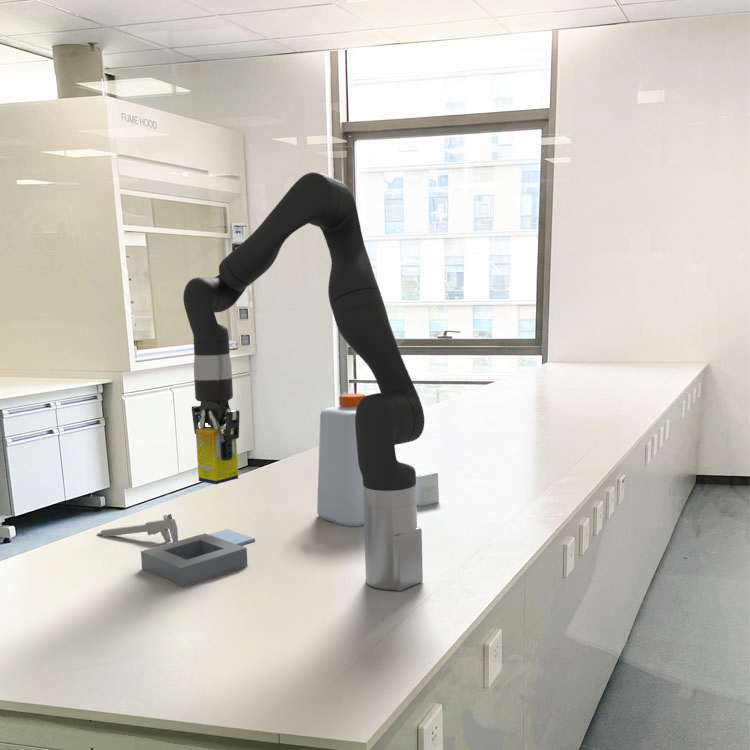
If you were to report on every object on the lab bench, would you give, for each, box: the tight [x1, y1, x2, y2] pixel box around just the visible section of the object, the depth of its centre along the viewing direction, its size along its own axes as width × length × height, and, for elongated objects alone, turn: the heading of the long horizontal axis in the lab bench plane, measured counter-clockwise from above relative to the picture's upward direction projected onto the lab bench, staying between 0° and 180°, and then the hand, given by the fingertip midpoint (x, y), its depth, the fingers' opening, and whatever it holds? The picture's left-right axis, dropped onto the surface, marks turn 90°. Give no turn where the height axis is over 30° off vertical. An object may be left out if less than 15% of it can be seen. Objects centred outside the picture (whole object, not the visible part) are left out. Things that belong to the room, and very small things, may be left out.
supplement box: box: [195, 426, 239, 485], centre depth 155 cm, size 6×6×11 cm
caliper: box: [96, 513, 179, 544], centre depth 161 cm, size 20×1×6 cm, turn 69°
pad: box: [207, 529, 256, 546], centre depth 157 cm, size 10×10×1 cm
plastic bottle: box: [316, 393, 366, 527], centre depth 172 cm, size 15×15×28 cm
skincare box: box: [415, 468, 440, 507], centre depth 184 cm, size 6×6×7 cm
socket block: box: [140, 533, 248, 588], centre depth 142 cm, size 14×14×4 cm
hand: (217, 457), depth 155 cm, fingers closed on supplement box, 6 cm apart
